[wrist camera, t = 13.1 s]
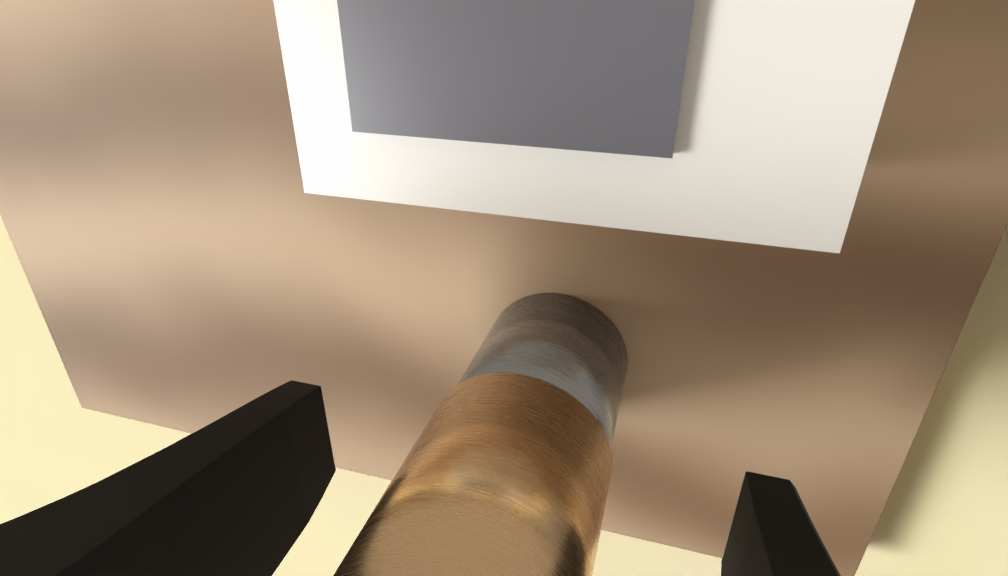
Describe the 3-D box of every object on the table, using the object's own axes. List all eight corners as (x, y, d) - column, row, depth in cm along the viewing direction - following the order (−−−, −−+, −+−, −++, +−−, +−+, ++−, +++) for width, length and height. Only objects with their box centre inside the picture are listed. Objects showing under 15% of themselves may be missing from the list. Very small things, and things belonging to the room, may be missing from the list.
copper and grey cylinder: (620, 428, 13) (549, 795, 8) (483, 395, 14) (321, 706, 8) (644, 305, 12) (579, 644, 6) (489, 275, 13) (293, 552, 7)
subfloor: (839, 544, 15) (850, 592, 14) (113, 385, 20) (79, 409, 19) (1321, -659, 6) (1454, -790, 5) (-179, -377, 11) (-271, -412, 10)
